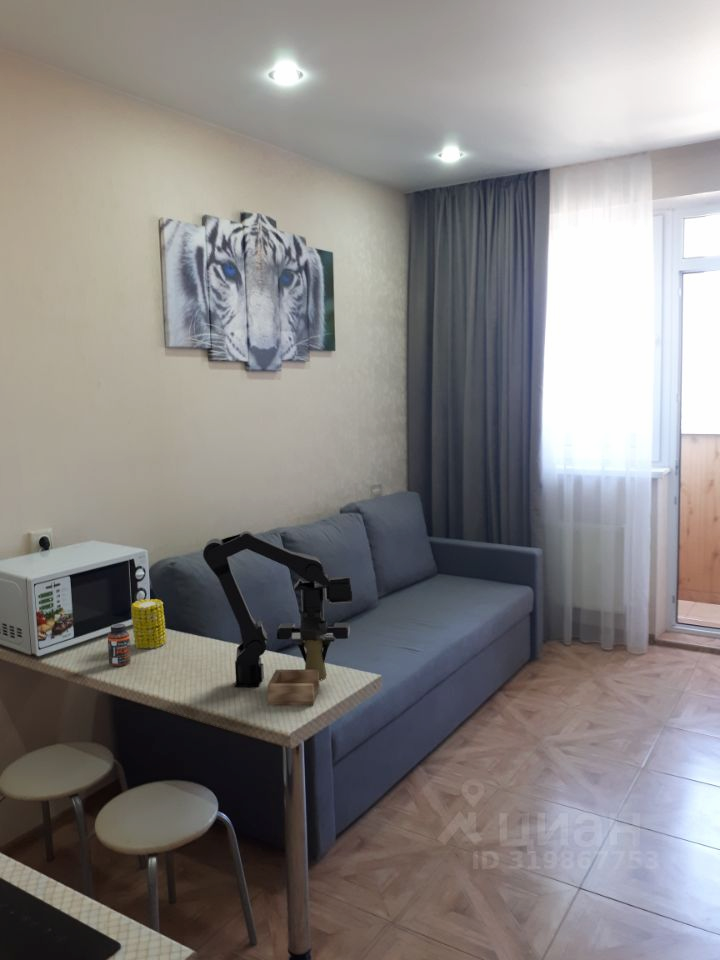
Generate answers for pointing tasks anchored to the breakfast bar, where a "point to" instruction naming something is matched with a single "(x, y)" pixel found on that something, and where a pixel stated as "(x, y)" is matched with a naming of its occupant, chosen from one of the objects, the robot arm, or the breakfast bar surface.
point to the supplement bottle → (119, 646)
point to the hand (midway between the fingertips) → (314, 662)
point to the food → (148, 623)
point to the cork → (315, 657)
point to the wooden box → (293, 687)
